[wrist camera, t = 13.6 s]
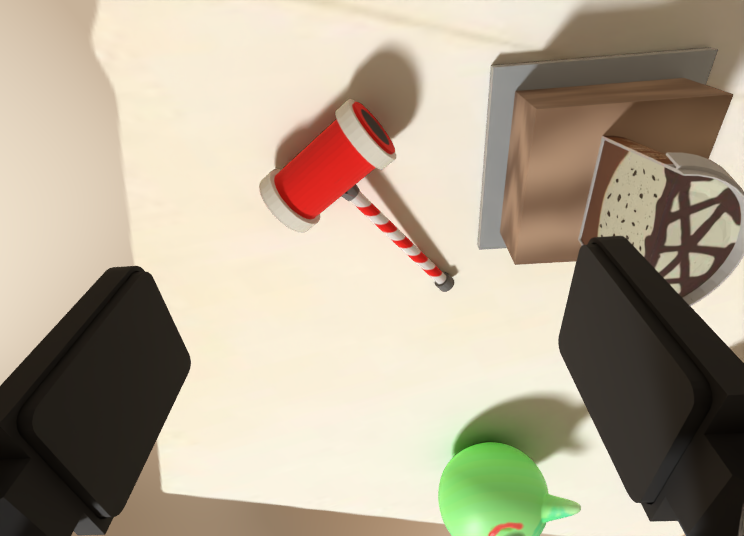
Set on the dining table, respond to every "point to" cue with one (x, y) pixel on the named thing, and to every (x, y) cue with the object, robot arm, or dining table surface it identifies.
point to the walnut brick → (590, 151)
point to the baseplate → (555, 76)
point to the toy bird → (497, 494)
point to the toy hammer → (340, 180)
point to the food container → (668, 213)
